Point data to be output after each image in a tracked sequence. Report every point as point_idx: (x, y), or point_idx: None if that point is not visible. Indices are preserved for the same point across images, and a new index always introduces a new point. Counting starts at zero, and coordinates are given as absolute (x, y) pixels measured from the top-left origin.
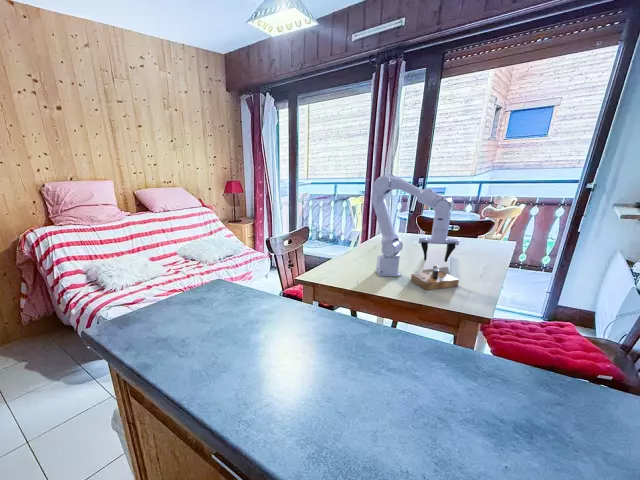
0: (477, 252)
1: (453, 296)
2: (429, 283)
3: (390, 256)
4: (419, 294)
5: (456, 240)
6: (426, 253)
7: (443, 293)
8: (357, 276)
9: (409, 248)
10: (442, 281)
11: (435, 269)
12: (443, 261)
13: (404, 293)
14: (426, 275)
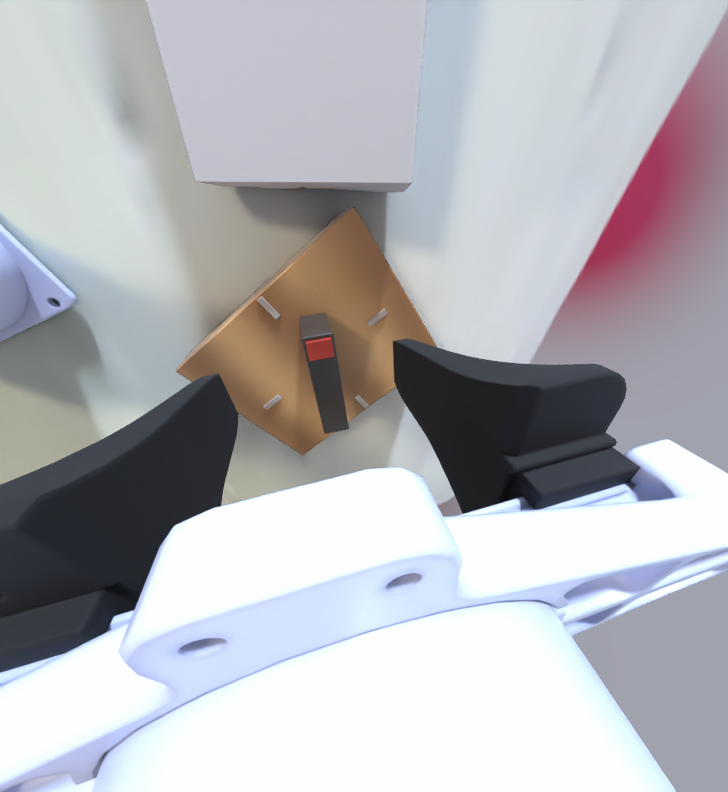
0: None
1: (396, 440)
2: (312, 445)
3: None
4: (289, 475)
5: (684, 586)
6: (220, 487)
7: (366, 433)
8: None
9: None
10: (364, 409)
11: (327, 406)
12: None
13: (237, 491)
14: (273, 359)
